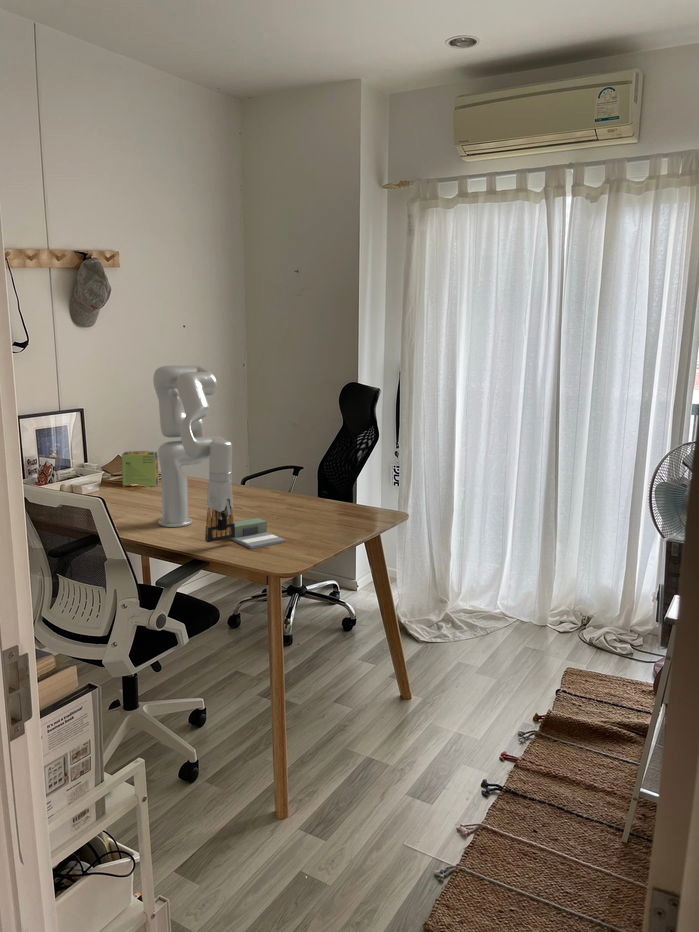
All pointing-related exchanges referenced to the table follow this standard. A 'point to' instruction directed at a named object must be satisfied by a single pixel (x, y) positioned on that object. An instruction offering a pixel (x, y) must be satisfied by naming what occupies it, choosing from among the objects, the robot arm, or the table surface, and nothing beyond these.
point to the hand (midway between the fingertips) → (220, 528)
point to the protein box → (140, 468)
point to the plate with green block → (254, 534)
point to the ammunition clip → (212, 527)
